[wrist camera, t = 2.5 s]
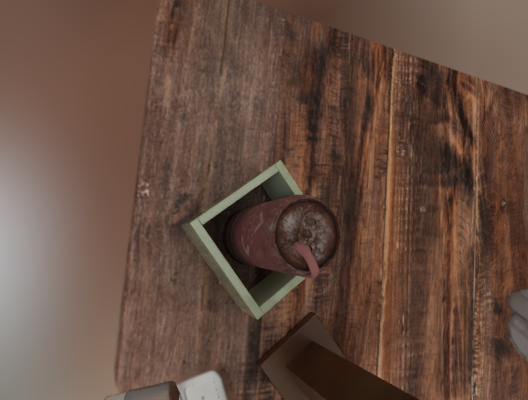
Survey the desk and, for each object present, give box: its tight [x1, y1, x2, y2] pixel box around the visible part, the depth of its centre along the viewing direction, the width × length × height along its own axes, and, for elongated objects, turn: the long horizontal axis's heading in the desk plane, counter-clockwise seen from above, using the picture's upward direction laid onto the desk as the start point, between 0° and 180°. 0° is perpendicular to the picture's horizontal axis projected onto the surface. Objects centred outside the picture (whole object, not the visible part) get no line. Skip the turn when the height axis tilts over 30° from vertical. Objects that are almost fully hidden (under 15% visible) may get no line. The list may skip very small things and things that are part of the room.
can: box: [223, 194, 341, 279], centre depth 33 cm, size 6×6×14 cm
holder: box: [181, 160, 305, 320], centre depth 36 cm, size 11×11×6 cm
